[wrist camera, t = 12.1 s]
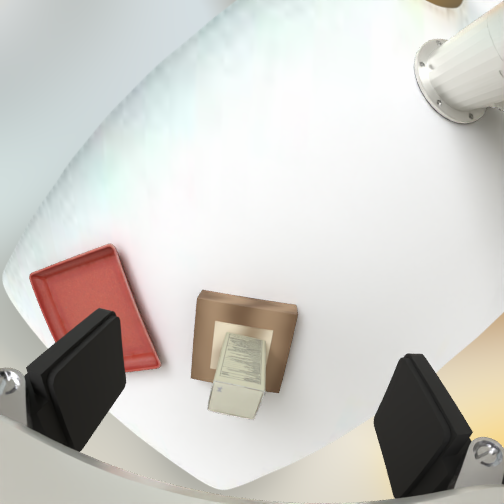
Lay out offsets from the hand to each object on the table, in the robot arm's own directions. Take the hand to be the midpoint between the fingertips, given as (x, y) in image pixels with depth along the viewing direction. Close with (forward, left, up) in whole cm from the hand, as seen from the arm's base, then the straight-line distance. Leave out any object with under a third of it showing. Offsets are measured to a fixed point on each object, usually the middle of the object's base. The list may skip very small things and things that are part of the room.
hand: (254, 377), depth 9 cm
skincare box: (+1, +14, -25) cm, 29 cm away
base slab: (+1, +15, -28) cm, 32 cm away
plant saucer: (+23, +16, -29) cm, 40 cm away
